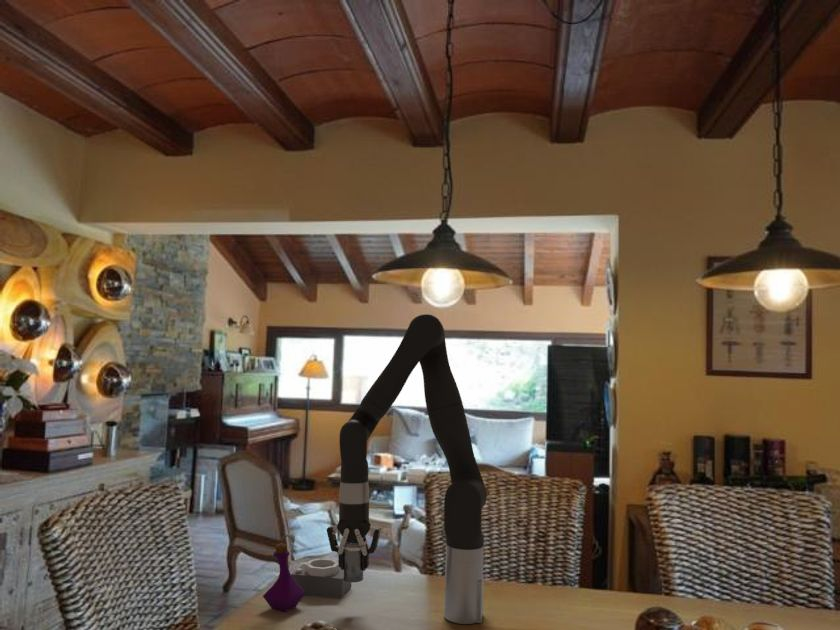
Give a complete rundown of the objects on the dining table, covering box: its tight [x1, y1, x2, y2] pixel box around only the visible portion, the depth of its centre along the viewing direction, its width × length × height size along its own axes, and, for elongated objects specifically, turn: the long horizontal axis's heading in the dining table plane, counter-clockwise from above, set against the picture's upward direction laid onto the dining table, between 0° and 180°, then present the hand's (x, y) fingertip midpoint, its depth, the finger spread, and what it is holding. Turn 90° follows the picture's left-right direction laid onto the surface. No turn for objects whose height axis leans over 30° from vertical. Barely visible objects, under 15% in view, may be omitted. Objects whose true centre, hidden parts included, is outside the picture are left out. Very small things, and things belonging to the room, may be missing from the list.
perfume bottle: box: [262, 533, 306, 613], centre depth 158 cm, size 8×8×18 cm
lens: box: [344, 541, 364, 583], centre depth 159 cm, size 5×5×9 cm
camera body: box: [290, 557, 353, 599], centre depth 170 cm, size 14×9×7 cm, turn 80°
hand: (353, 569), depth 158 cm, fingers closed on lens, 4 cm apart
